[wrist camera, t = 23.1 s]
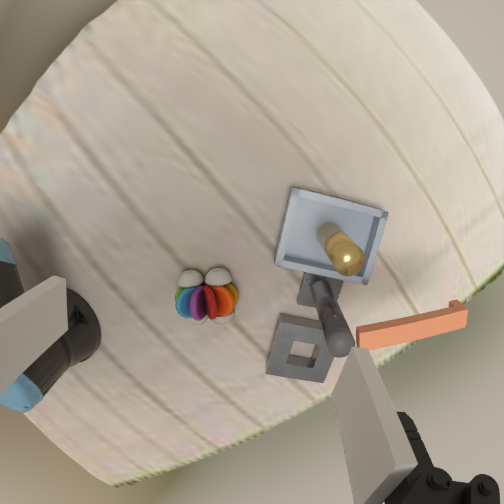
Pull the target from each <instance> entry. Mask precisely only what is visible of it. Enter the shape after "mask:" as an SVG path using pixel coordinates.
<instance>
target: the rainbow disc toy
mask: <svg viewBox="0 0 504 504" xmlns="http://www.w3.org/2000/svg"><path fill="white" fill-rule="evenodd" d="M203 281H204V279H203V277H202V275H201V274H200V273H199V272H197V271H195V270H187V271H184V272H182V273H181V274H180V276H179V278H178V281H177V284H178V286H180V287H181V288H180V289H179V290H178V291H177V293H176V296H175V300H176V310H177V312H178V313H179V314H180V315H181V316H183V317H184V318H185V319H186V321H187V322H189V323H190V324H193V325H199V324H202V323H204V322H205V321H206V320H207V318H208V317H209V318H210V319H212V320H213V321H214V322H216V323H218V324H225V323H228V322H229V321H231V320H232V318H233V317H234V314H235V310H234V306H235V304H236V303H237V301H238V297H239V296H238V291H237V289H236V288H235V287H234V286H233V285H232V284H230V282H231V281H232V277H231V275H230V273H229V272H228V271H227V270H225V269H223V268H215V269H212V270H210V271H209V272H208V273H207V275H206V277H205V283H206V284H207V285H208V286H202V283H203Z"/></svg>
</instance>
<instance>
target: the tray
mask: <svg viewBox="0 0 504 504" xmlns="http://www.w3.org/2000/svg"><path fill="white" fill-rule="evenodd" d="M387 216H388V212H386V211H384V210H381V209H378V208H374V207H371V206H367V205H363V204H360V203H356V202H352V201H349V200H345V199H341V198H337V197H333V196H329V195H326V194H322V193H318V192H313V191H309V190H305V189H301V188H297V187H293V186H291V190H290V194H289V198H288V203H287V207H286V211H285V216H284V220H283V224H282V228H281V233H280V237H279V241H278V245H277V249H276V254H275V258H274V265H275V266H280V267H284V268H289V269H294V270H298V271H303V272H307V273H312V274H317V275H321V276H326V277H331V278H335V279H340V280H345V281H349V282H354V283H359V284H363V285H367V284H368V280H369V277H370V274H371V271H372V268H373V265H374V262H375V258H376V255H377V252H378V248H379V245H380V242H381V238H382V235H383V231H384V228H385V224H386V220H387ZM325 223H334V224H336V225H337V226H338V227H339V228H340V229H341V230H342V231H343V232H344V233H345V234H347V235H348V236H349V237H350V238H351V239H352V240H353V241H354V242H355V243H356V244H357V245H358V246H359V247H360V248H361V249H362V251H363V252H364V255H365V263H364V266H363V268H362V269H361V271H360V272H359V273H357V274H355V275H353V276H343V275H341V274H339V273H338V272H337V271H336V270H335V268H334V266H333V265H332V263H331V261H330V260H329V258H328V256H327V254H326V253H325V251H324V249H323V248H322V246H321V244H320V243H319V241H318V239H317V232H318V229H319V228H320V226H322V225H323V224H325Z"/></svg>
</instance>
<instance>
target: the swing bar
mask: <svg viewBox="0 0 504 504" xmlns="http://www.w3.org/2000/svg"><path fill="white" fill-rule="evenodd" d="M467 314H468V309H467V308H466V307H465V306H464V305H463V304H462V303H460V302H459V301H458V300H453V301H449V307H448V308H444V309H440V310H436V311H432V312H427V313H423V314H418V315H414V316H409V317H404V318H400V319H395V320H390V321H385V322H380V323H374V324H369V325H363V326H358V327H356V341H357V347H358V348H365V349H368V350H372V349H377V348H382V347H387V346H391V345H396V344H400V343H405V342H409V341H414V340H418V339H422V338H425V337H430V336H434V335H438V334H442V333H445V332H449V331H453V330H456V329H460V328H463V327H466V322H467ZM326 344H327V347H328V351H329V353H330V354H331V355H332V356H334V357H345V356H347V355H349V352H350V350H351V348H352V347H355V340H354V338H353V336H352V334H351V332H350V330H348V329H347V328H344V327H338V328H335V329H333V330H331V331H330V332H329V333H328V335H327V337H326Z"/></svg>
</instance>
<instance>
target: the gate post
mask: <svg viewBox="0 0 504 504" xmlns="http://www.w3.org/2000/svg"><path fill="white" fill-rule="evenodd" d="M342 284H343V280H340V279H335V278H331V277H326V276H321V275H317V274H312V273H307V272H305V274H304V277H303V281H302V285H301V288H300V292H299V295H298V299H297V304H300V305H305V306H310V307H315V308H316V309H317V313H318V316H319V320H320V323H321V326H322V330H323V333H324V337H325V340H326V337H327V335H328V333H329V332H330V331H331V330H333V329H335V328H338V327H344V328H347V329H348V330H350V329H349V327H348V325H347V322H346V320H345V318H344V316H343V313H342V311H341V309H340V307H339V305H338V302H337V299H338V296H339V293H340V290H341V287H342ZM350 332H351V331H350Z"/></svg>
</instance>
